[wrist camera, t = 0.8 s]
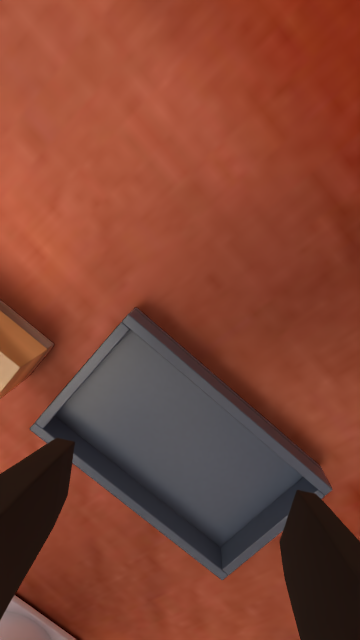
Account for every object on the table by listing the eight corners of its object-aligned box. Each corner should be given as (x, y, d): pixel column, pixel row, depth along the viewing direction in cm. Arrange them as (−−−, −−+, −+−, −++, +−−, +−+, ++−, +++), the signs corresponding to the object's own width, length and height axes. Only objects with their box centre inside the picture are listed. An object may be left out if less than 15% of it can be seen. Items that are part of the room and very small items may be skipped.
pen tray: (220, 550, 23) (222, 581, 21) (45, 411, 21) (28, 429, 19) (320, 465, 21) (333, 489, 19) (135, 306, 19) (128, 313, 17)
